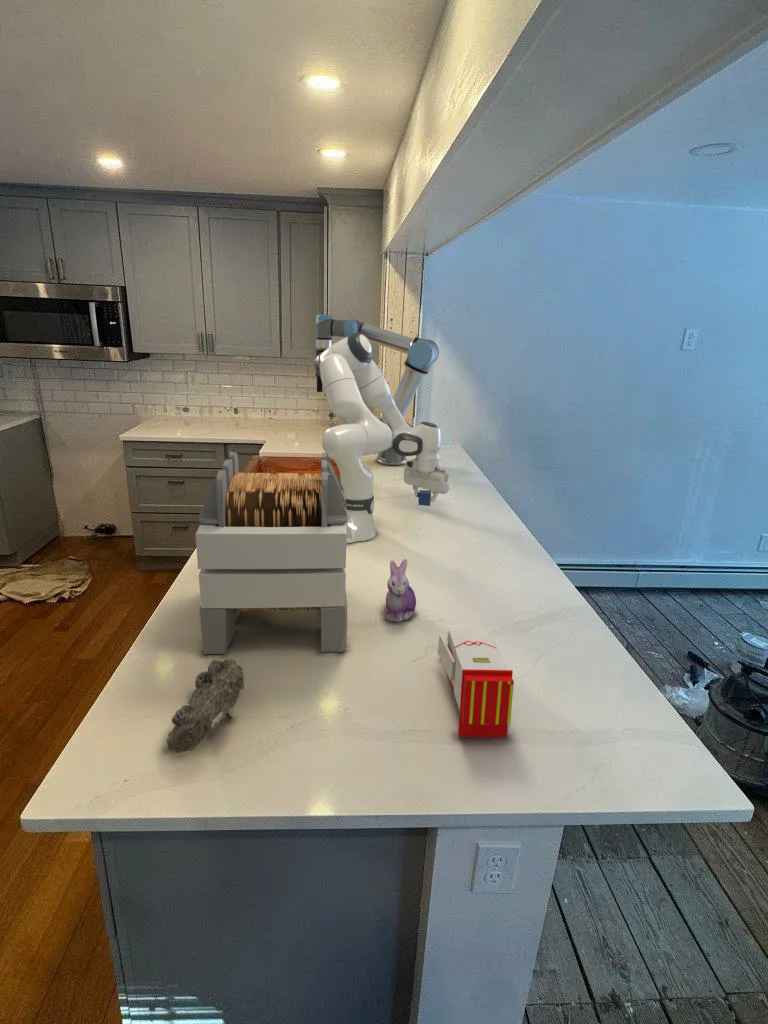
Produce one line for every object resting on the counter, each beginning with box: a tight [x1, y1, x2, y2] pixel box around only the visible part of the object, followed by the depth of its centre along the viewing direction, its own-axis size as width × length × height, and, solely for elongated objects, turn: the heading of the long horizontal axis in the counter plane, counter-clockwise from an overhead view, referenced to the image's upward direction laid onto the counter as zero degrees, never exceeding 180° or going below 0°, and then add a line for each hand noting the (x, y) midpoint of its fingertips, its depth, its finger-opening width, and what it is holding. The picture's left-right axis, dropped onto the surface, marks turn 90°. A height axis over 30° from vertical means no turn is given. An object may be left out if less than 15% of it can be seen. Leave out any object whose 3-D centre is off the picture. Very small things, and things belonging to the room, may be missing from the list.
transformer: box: [195, 450, 348, 656], centre depth 137 cm, size 34×33×41 cm
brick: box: [417, 489, 432, 507], centre depth 221 cm, size 4×5×5 cm
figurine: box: [384, 558, 417, 623], centre depth 145 cm, size 9×10×15 cm
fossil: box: [166, 658, 245, 754], centre depth 106 cm, size 22×10×15 cm
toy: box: [437, 628, 515, 738], centre depth 117 cm, size 12×13×30 cm
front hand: (424, 499), depth 221 cm, fingers closed on brick, 6 cm apart
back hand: (323, 394), depth 277 cm, fingers open, 13 cm apart
